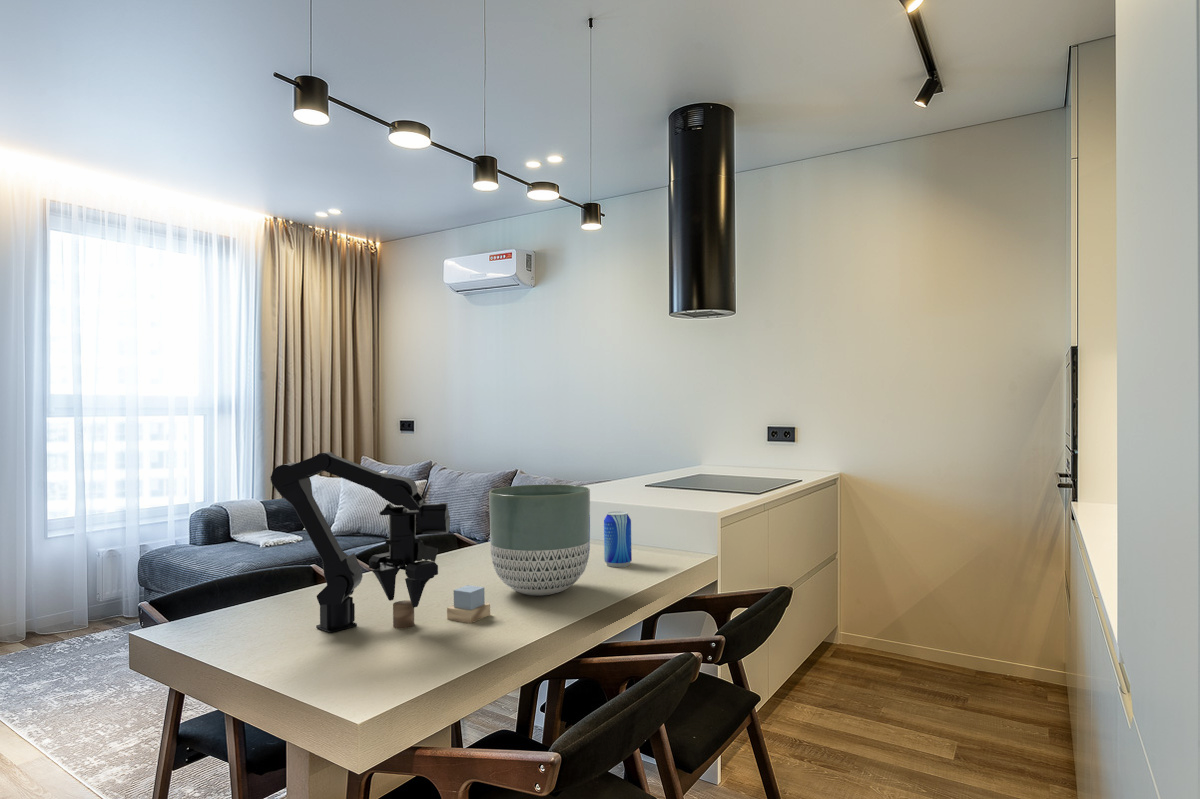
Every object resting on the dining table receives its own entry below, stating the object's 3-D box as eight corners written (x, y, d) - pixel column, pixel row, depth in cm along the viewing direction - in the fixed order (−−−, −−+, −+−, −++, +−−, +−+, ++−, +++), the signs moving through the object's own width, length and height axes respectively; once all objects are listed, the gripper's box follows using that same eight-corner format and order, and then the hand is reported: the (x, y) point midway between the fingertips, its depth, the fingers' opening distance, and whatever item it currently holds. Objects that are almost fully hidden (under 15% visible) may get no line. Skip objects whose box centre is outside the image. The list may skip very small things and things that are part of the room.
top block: (470, 610, 156) (470, 592, 156) (453, 607, 158) (453, 590, 158) (484, 604, 160) (484, 587, 160) (467, 601, 163) (467, 585, 163)
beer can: (601, 563, 214) (600, 511, 214) (626, 560, 216) (625, 510, 217) (609, 568, 206) (608, 515, 206) (635, 566, 208) (634, 514, 209)
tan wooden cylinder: (401, 630, 151) (400, 607, 151) (389, 626, 153) (388, 603, 154) (418, 624, 154) (418, 602, 154) (406, 621, 157) (406, 599, 157)
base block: (470, 625, 155) (470, 611, 155) (447, 620, 158) (447, 607, 158) (490, 616, 161) (490, 603, 161) (467, 612, 164) (467, 600, 164)
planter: (607, 584, 187) (606, 486, 188) (561, 610, 163) (560, 497, 164) (524, 576, 198) (522, 483, 199) (469, 599, 174) (468, 493, 175)
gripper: (457, 533, 154) (457, 602, 154) (408, 525, 166) (408, 589, 166) (415, 540, 146) (416, 614, 146) (367, 531, 158) (367, 599, 157)
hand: (403, 603), depth 154 cm, fingers open, 9 cm apart
